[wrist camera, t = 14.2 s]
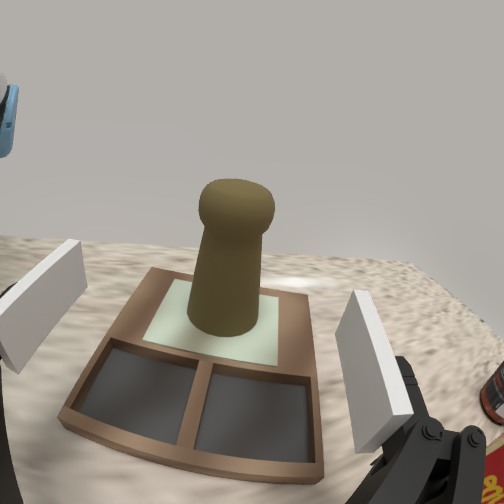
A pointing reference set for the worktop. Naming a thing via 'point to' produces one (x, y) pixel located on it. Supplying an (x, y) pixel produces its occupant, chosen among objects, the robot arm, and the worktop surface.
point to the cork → (229, 257)
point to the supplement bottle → (495, 395)
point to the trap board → (205, 388)
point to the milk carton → (494, 473)
